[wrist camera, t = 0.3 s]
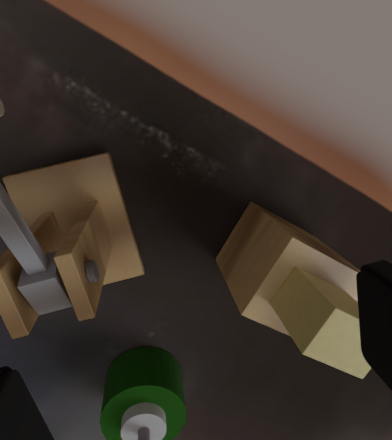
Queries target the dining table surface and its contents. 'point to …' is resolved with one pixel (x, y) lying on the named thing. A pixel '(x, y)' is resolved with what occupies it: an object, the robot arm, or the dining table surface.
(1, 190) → the lever
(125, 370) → the candle
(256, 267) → the stand
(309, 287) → the butter
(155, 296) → the dining table surface
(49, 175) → the slicer
